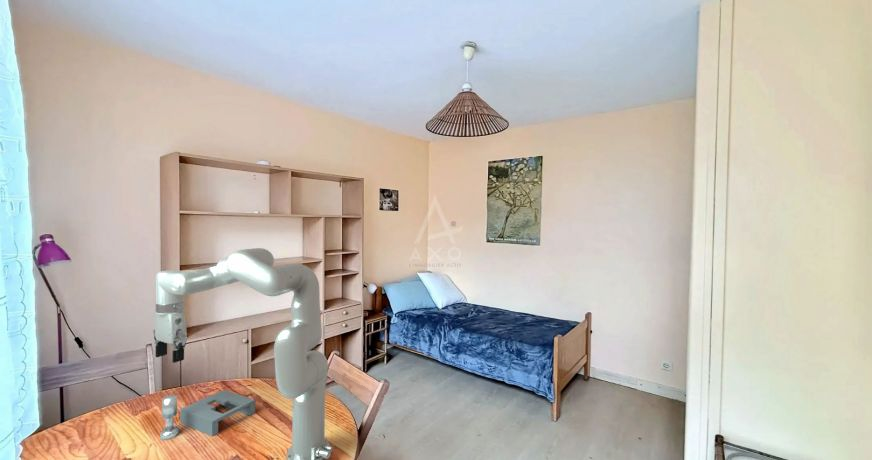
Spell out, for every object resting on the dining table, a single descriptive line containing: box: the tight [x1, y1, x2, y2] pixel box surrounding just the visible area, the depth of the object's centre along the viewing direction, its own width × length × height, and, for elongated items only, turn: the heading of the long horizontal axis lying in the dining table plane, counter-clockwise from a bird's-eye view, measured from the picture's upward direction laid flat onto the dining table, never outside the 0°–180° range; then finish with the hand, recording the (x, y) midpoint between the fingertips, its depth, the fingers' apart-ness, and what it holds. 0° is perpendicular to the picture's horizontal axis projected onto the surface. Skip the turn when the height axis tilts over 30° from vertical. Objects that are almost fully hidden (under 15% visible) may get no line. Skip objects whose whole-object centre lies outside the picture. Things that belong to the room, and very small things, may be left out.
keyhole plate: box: [179, 389, 256, 437], centre depth 126 cm, size 18×16×5 cm
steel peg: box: [159, 393, 179, 441], centre depth 115 cm, size 5×5×13 cm
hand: (169, 358), depth 115 cm, fingers open, 9 cm apart
